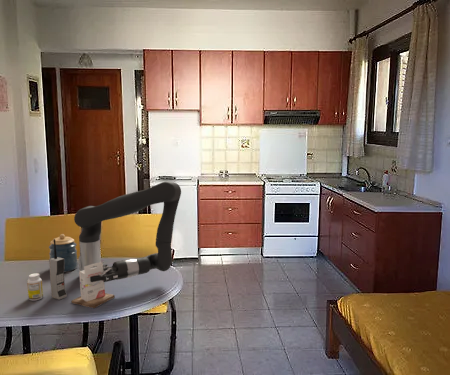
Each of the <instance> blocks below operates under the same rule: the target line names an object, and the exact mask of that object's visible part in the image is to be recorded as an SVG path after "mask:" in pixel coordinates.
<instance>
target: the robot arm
mask: <svg viewBox="0 0 450 375" xmlns="http://www.w3.org/2000/svg"><path fill="white" fill-rule="evenodd" d="M181 189H182V188H181V186H180V185H179V184H178V183H176V182H174V181H167V180H166V181H162V182H160V183H158V184H156V185H154V186H151V187H148V188H146V189H142V190H138V191H133V192H130V193H127V194H126V193H125V194H122V195H120V196H117V197H115V198H112V199H110V200H108V201H106V202H104V203H102V204H98V205H88V206H85V207H82V208H80V209H79V210H77V211H76V213H75V214H74V219H73V220H74V223H75V224H76V225H77V226H78V227H80V228H82V230H81V232H80V234H79V236H78V238H79V239H78V240H79V241H78V242H79V256H78V267H79V271H83V270H84V266H88V265H91V264H95V263H99V262H102V261H101V260H102V258H101V257H102V256H101V240H100V238H101V237H100V236H101V233H102V222H104V221H107V220H112V219H117V218H122V217H125V216H129V215H132V214H135V213H138V212H140V211H141V210H144V209H145V208H147V207H149V206H152V205H156V204H160V203H163V209H162V214H161V216H160V221H159V222H158V225H157V228H156V236H155V247H156V249H157V252H155V253H152V254H148V255H146V256H143V257H137V258H129V259H123V260H118V261H114V262H113V263H112V266H109V265H108V264H103V269H104V272H103V274H101V275H96V276H91V277H90V281H91V282H96V281H103V282H104V283H107V282H111V281H115V280H117V281H118V280H123V279H128V278H132V277H133V278H134V277H136V276H139V275H140V276H141V275H143V274H144V275H145V274H147V273H149V272H151V271H152V270H156V269H157V270H158V271H161V272H167V271H168V270H170V268H171V267H172V263H173V253H172V252H173V251H172V250H173V249H172V241H173V231H174V225H175V219H176V216H177V215H176V214H177V209H178V206H179V202H180V198H181V196H182V190H181ZM94 267H97V266H93V267H91V268H94ZM150 270H151V271H150ZM79 271H78V272H79Z"/></svg>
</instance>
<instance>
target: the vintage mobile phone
mask: <svg viewBox="0 0 450 375" xmlns="http://www.w3.org/2000/svg"><path fill="white" fill-rule="evenodd" d="M53 239H54V256H55V257H54V258H52V259H50V258H49V260H48V262H49V264H48V266H49V278H50V291H51V292H50V294H51V299H52V298H53V299H56V300H58V301H59V300H63V299H65V298H67V297H68V296H67V295H68V294H67V292H66V288H65V286H66V285H65V272H64V258H59V257H57V253H56V243H55V238H53Z"/></svg>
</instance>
